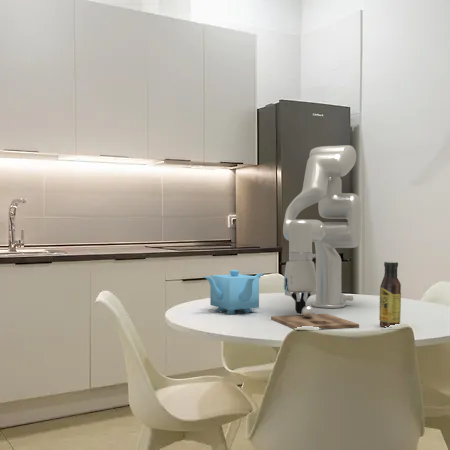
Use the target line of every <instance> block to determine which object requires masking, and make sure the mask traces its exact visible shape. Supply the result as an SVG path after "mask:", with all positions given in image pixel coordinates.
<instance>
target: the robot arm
mask: <svg viewBox="0 0 450 450" xmlns="http://www.w3.org/2000/svg"><path fill="white" fill-rule="evenodd" d="M356 161H357V151H356V149H355V148H354V146H353V145H349V144H348V145H325V146H323V145H322V146H317V147H314V148H312V149H310V152H309V158H308V159H307V161H306V167H305V172H304V179H303V184H302V190H301V192H300V193H299V194H298V195H297V196H296V197H294V198H293V199H292V201H291V202H290V203H289V205H288V207H287V208H286V210H285V214H284V219H283V225H282V226H283V227H282V234H283V237H284V239H285V240H286V241H289V242H288V261H286V263H285V268H284V276H283V289H284V295H285V296H287V297H291V298H292V299H293V300H294V301H295V303H294V308H295V309H294V310H295V312H296V314H298V315H302V309H303V308H304V307H305V306H307V304H306V302H307V301H308V299H309V298H310V297H311V296H312V297H313V296H315V301H312V302H311V307H315V308H321V309H322V308H325V309H340V308H345V307H346V301H349V302H350V301H354V296H353V295H345V293H342V258H341V255H340V254H339V253H338V251H337V250H336V249H338V248H339V249H353V248H357V247H358V246H359V245H360V244H361V239H362V202H361V201H362V200H361V198H360V197H359V195H358V194H356V193H352V192H349V193H344V192H343V191H342V186H343V185H342V181H343V180H342V179H341V178H342V177H345V176H346V175H347V174H349V173H350V171H351V170H352V169H353V167H354V166H355V164H356ZM315 204H318V208H317V209H318V214H319V216H320V217H321V218H323V219H327V220H329V219H337V220H338V219H340V220H341V219H342V220H347V221H346V222H344V221H343V222H342V221H340V222H338V221H328V222H327V221H324V222H322V221H321V220H319V219H297V217H298V215H299V214H300V213H301V212H302V211H303V210H305V209H306V208H309V207H310V206H313V205H315ZM313 243H314V248H315V249H314V250H315V253H313ZM314 259H315V262H314V261H313V260H314Z"/></svg>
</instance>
